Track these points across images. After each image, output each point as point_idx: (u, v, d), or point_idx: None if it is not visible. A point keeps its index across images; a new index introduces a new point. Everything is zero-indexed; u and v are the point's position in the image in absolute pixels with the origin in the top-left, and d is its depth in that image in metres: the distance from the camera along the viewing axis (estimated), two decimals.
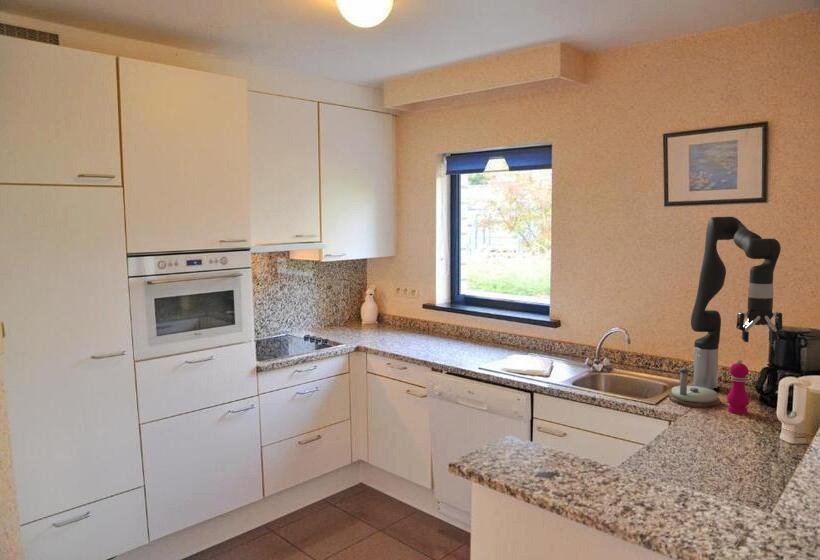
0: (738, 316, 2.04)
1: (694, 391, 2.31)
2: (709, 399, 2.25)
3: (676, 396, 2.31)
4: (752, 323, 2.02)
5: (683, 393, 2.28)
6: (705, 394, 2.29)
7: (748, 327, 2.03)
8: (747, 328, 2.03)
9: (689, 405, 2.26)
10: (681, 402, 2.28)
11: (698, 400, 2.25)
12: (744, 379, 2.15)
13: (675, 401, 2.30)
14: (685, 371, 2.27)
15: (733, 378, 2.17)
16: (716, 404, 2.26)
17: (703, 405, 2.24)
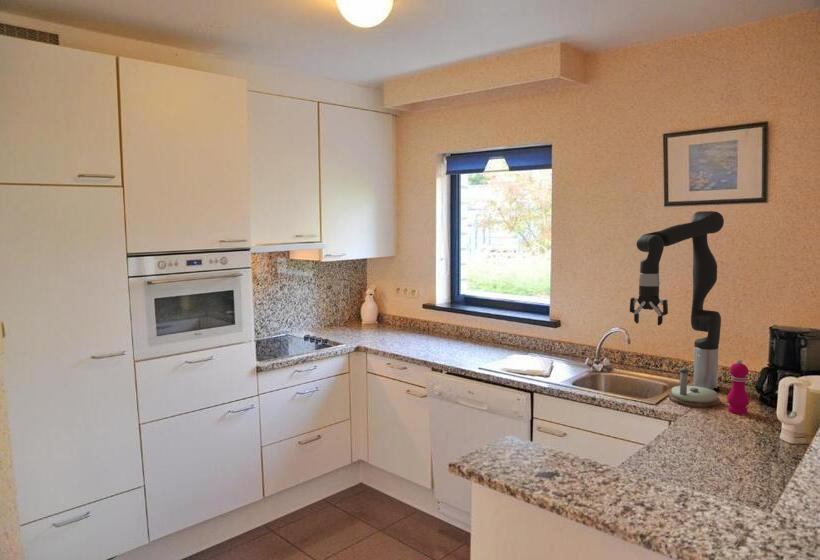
0: (666, 303, 2.31)
1: (694, 391, 2.31)
2: (709, 399, 2.25)
3: (676, 396, 2.31)
4: None
5: (683, 393, 2.28)
6: (705, 394, 2.29)
7: None
8: None
9: (689, 405, 2.26)
10: (681, 402, 2.28)
11: (698, 400, 2.25)
12: (744, 379, 2.15)
13: (675, 401, 2.30)
14: (685, 371, 2.27)
15: (733, 378, 2.17)
16: (716, 404, 2.26)
17: (703, 405, 2.24)
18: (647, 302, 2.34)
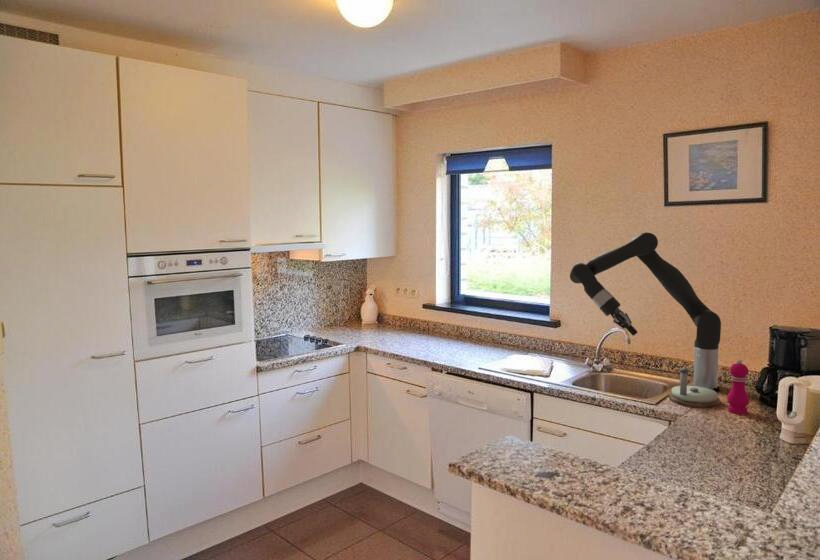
0: (617, 322, 2.36)
1: (694, 391, 2.31)
2: (709, 399, 2.25)
3: (676, 396, 2.31)
4: (625, 318, 2.38)
5: (683, 393, 2.28)
6: (705, 394, 2.29)
7: (627, 322, 2.38)
8: (628, 323, 2.38)
9: (689, 405, 2.26)
10: (681, 402, 2.28)
11: (698, 400, 2.25)
12: (744, 379, 2.15)
13: (675, 401, 2.30)
14: (685, 371, 2.27)
15: (733, 378, 2.17)
16: (716, 404, 2.26)
17: (703, 405, 2.24)
18: None
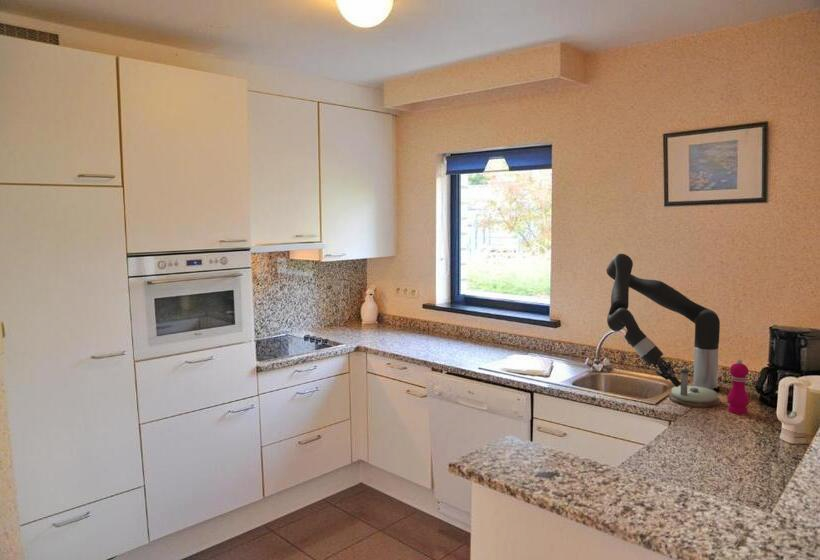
0: (660, 373, 2.28)
1: (694, 391, 2.31)
2: (709, 398, 2.25)
3: (677, 396, 2.30)
4: (668, 369, 2.30)
5: (684, 393, 2.28)
6: (706, 394, 2.29)
7: (670, 373, 2.30)
8: (672, 373, 2.30)
9: (689, 405, 2.26)
10: (681, 402, 2.28)
11: (699, 400, 2.25)
12: (744, 379, 2.15)
13: (675, 401, 2.30)
14: (686, 371, 2.26)
15: (733, 378, 2.17)
16: (716, 404, 2.26)
17: (703, 405, 2.24)
18: None
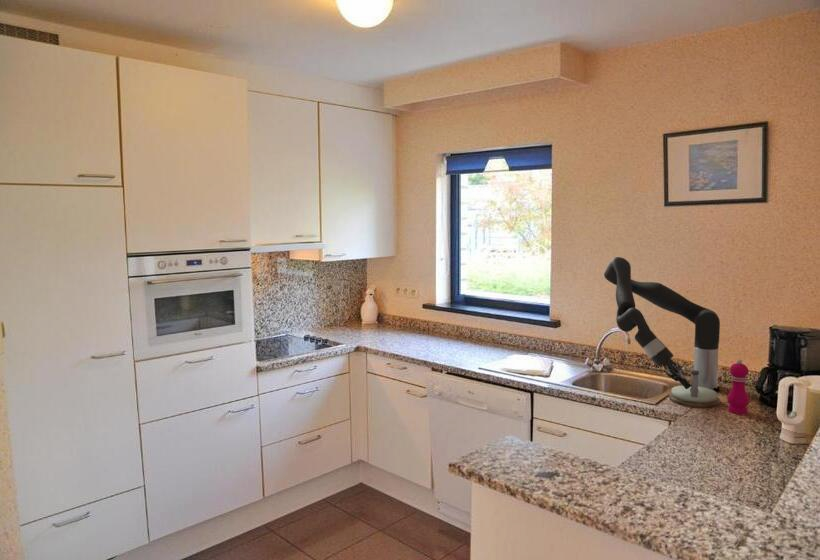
0: (670, 374, 2.25)
1: None
2: (716, 396, 2.27)
3: (687, 399, 2.27)
4: (678, 370, 2.27)
5: (696, 395, 2.25)
6: (707, 392, 2.31)
7: (680, 375, 2.27)
8: (682, 375, 2.27)
9: (689, 405, 2.26)
10: (681, 402, 2.28)
11: (710, 400, 2.25)
12: (744, 379, 2.15)
13: (675, 401, 2.30)
14: (698, 372, 2.24)
15: (733, 378, 2.17)
16: (716, 404, 2.26)
17: (703, 405, 2.24)
18: None
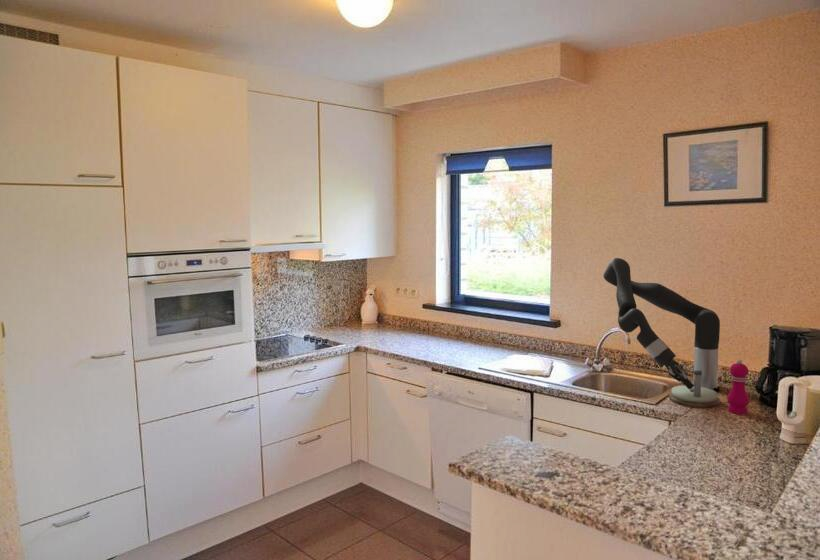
0: (673, 375, 2.25)
1: None
2: None
3: (690, 400, 2.26)
4: (680, 370, 2.27)
5: (699, 395, 2.25)
6: (707, 392, 2.31)
7: (683, 375, 2.26)
8: (684, 375, 2.27)
9: (689, 405, 2.26)
10: (681, 402, 2.28)
11: (712, 399, 2.25)
12: (744, 379, 2.15)
13: (675, 401, 2.30)
14: (701, 373, 2.24)
15: (733, 378, 2.17)
16: (716, 404, 2.26)
17: (703, 405, 2.24)
18: None
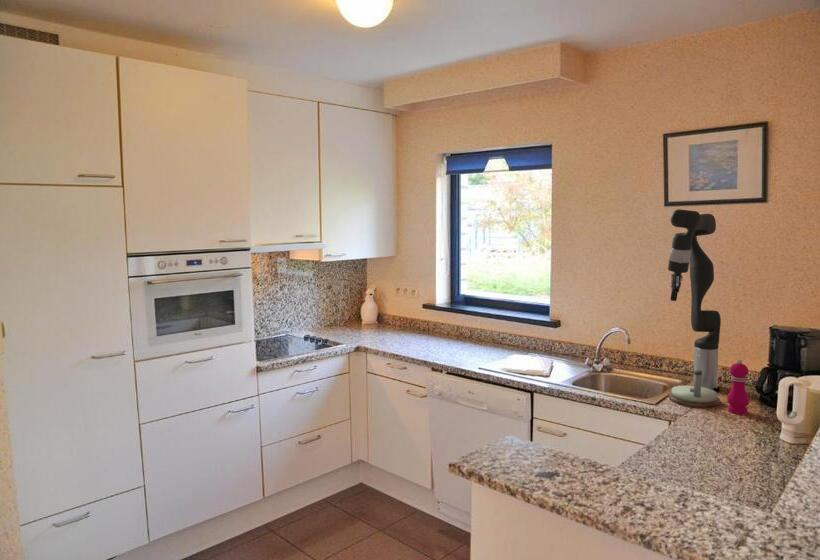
0: (675, 285, 2.32)
1: None
2: None
3: (690, 400, 2.26)
4: (680, 284, 2.35)
5: (699, 395, 2.25)
6: (707, 392, 2.31)
7: None
8: None
9: (689, 405, 2.26)
10: (681, 402, 2.28)
11: (712, 399, 2.25)
12: (744, 379, 2.15)
13: (675, 401, 2.30)
14: (701, 373, 2.24)
15: (733, 378, 2.17)
16: (716, 404, 2.26)
17: (703, 405, 2.24)
18: (673, 276, 2.36)
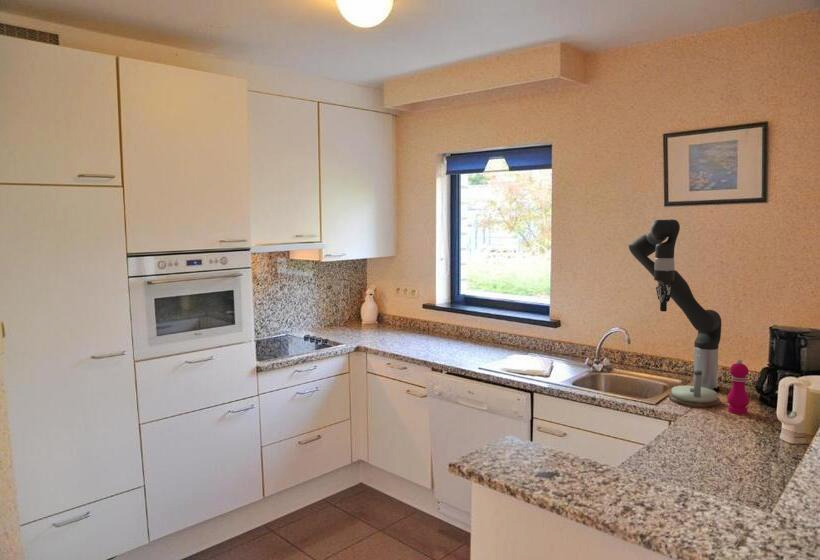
0: (667, 294, 2.32)
1: None
2: None
3: (690, 400, 2.26)
4: None
5: (699, 395, 2.25)
6: (707, 392, 2.31)
7: None
8: None
9: (689, 405, 2.26)
10: (681, 402, 2.28)
11: (712, 399, 2.25)
12: (744, 379, 2.15)
13: (675, 401, 2.30)
14: (701, 373, 2.24)
15: (733, 378, 2.17)
16: (716, 404, 2.26)
17: (703, 405, 2.24)
18: None
